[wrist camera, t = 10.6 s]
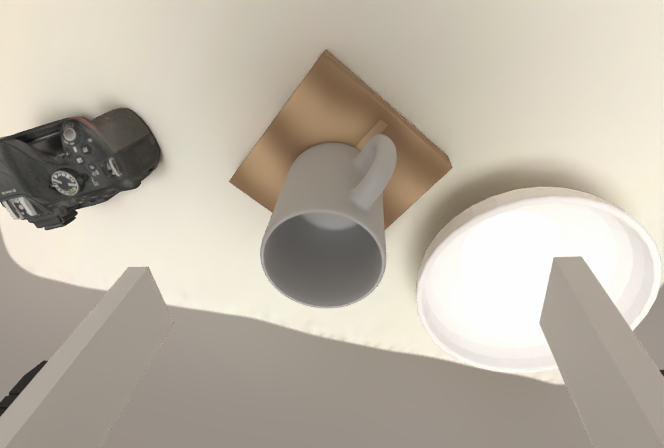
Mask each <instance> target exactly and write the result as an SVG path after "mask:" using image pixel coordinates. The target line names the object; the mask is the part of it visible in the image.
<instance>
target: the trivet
mask: <svg viewBox="0 0 664 448" xmlns="http://www.w3.org/2000/svg"><path fill="white" fill-rule="evenodd" d="M378 134H382V135H385V136H387V137H388V138H390V139H391V140H392V142H393V143H394V145H395V147H396V155H397V159H396V166H395V169H394V173H393V175H392V177H391V179H390V181H389V182H388V184H387V186H386V187H385V188H384V190H383V213H384V228H385V229H386V228H388V227H389V226H390V225H391V224H392V223H393V222H394V221H395V220H396V219H397V218H398V217H399V216H401V215H402V214H403V213H404V212H405V211H406V210H407V209H408V208H409V207H410V206H411V205H412V204H414V203H415V202H416V201H417V200H418V199H419V198H420V197H421V196H422V195H423V194H424V193H425V192H427V191H428V190H429V189H430V188H431V187H432V186H433V185H434V184H435V183H436V182H437V181H438V180H440V179H441V178H442V177H443V176H444V175H445V174H446V173H447V172H448V171H449V170H450V169H451V168H452V165H451V163H450V160H449V158H448V156H447V155H446V154H445V153H443V152H442V151H441V150H440V149H439V148H438V147H437V146H435V145H434V144H433V143H432V142H431V141H430V140H429V139H427V138H426V137H425V136H424V135H423V134H422V133H421V132H419V131H418V130H417V129H416V128H415V127H414V126H413V125H411V124H410V123H409V122H408V121H407V120H406V119H405V118H404V117H402V116H401V115H400V114H399V113H398V112H397V111H396V110H394V109H393V108H392V107H391V106H390V105H389V104H388V103H386V102H385V101H384V100H383V99H382V98H381V97H380V96H378V95H377V94H376V93H375V92H374V91H373V90H372V89H370V88H369V87H368V86H367V85H366V84H365V83H364V82H362V81H361V80H360V79H359V78H358V77H357V76H356V75H354V74H353V73H352V72H351V71H350V70H349V69H348V68H346V67H345V66H344V65H343V64H342V63H341V62H340V61H338V60H337V59H336V58H335V57H334V56H333V55H332V54H330V53H329V52H328V51H327V50H325V51H324V52H323V54H322V55H321V56H320V58H319V59H318V60H317V62H316V63H315V64H314V66H313V67H312V69H311V70H310V71H309V73H308V74H307V75H306V77H305V78H304V79H303V81H302V82H301V84H300V85H299V86H298V88H297V89H296V90H295V92H294V93H293V95H292V96H291V97H290V99H289V100H288V101H287V103H286V104H285V105H284V107H283V108H282V110H281V111H280V112H279V114H278V115H277V116H276V118H275V119H274V121H273V122H272V123H271V125H270V126H269V127H268V129H267V130H266V131H265V133H264V134H263V136H262V137H261V138H260V140H259V141H258V142H257V144H256V145H255V147H254V148H253V149H252V151H251V152H250V153H249V155H248V156H247V157H246V159H245V160H244V162H243V163H242V164H241V166H240V167H239V168H238V170H237V171H236V173H235V174H234V175H233V177H232V178H231V179H230V181H229V182H230V183H231V184H233V185H234V186H236V187H237V188H239V189H240V190H241V191H243V192H244V193H246V194H247V195H248V196H250V197H251V198H253V199H254V200H255V201H257V202H258V203H260V204H261V205H262V206H264V207H265V208H267V209H268V210H270V211H271V212H272V213H273V211H274V208H275V206H276V203H277V201H278V198H279V195H280V193H281V190H282V188H283V185H284V182H285V179H286V176H287V173H288V171H289V169H290V167H291V165H292V163H293V162H294V161H295V159H296V158H297V157H298V156H299V155H300V154H301V153H303V152H304V151H305V150H307V149H309V148H311V147H313V146H316V145H319V144H323V143H343V144H347V145H350V146H353V147H355V148H357V149H359V150H360V151H361V150H362V149H363V148H364V147H365V145H366V144H367V143H368V142H369V140H370V139H371V138H372V137H374V136H375V135H378Z"/></svg>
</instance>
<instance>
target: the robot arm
mask: <svg viewBox="0 0 664 448" xmlns="http://www.w3.org/2000/svg"><path fill="white" fill-rule="evenodd" d="M173 324H174V322H173V319H172V317H171V315H170V313H169V311H168V309H167V306H166V304H165V302H164V300H163V298H162V295H161V293H160V291H159V289H158V287H157V284H156V282H155V280H154V278H153V276H152V273H151V271H150V269H149V267H128V268H127V270H126V271H125V272H124V273H123V274H122V275H121V277H120V278H119V279H118V280H117V281H116V282H115V284H114V285H113V286H112V287H111V288H110V289H109V291H108V292H107V293H106V294H105V295H104V297H103V298H102V299H101V300H100V301H99V302H98V304H97V305H96V306H95V307H94V308H93V309H92V310H91V312H90V313H89V314H88V315H87V316H86V318H85V319H84V320H83V321H82V322H81V323H80V325H79V326H78V327H77V328H76V329H75V330H74V332H73V333H72V334H71V335H70V336H69V337H68V339H67V340H66V341H65V342H64V343H63V344H62V345H61V347H60V348H59V349H58V350H57V351H56V353H55V354H54V355H53V356H52V357H51V358H50V359H49V361H43V362H41V363H40V364H39V365H37V366H36V367H35V368H34V369H32V370H31V371H30V372H28V373H27V374H26V375H24V376H23V377H22V379H21V380H20V381H19V382H18V383H17V384H16V385H15V387H14V388H13V389H12V390H11V391H10V392H9V396H6V397H5V398H4V399H3V400H2V401H1V402H0V448H100V447H101V446H102V444H103V442H104V440H105V439H106V437H107V436H108V434H109V432H110V431H111V429H112V427H113V426H114V424H115V422H116V420H117V419H118V417H119V415H120V414H121V412H122V410H123V409H124V407H125V405H126V404H127V402H128V400H129V398H130V397H131V395H132V393H133V392H134V390H135V388H136V387H137V385H138V383H139V382H140V380H141V378H142V377H143V375H144V373H145V372H146V370H147V368H148V367H149V365H150V363H151V361H152V360H153V358H154V356H155V355H156V353H157V351H158V350H159V348H160V346H161V345H162V343H163V341H164V340H165V338H166V336H167V335H168V332H169V331H170V329H171V328H172V326H173ZM539 324H540V327H541V329H542V331H543V333H544V336H545V338H546V340H547V343H548V345H549V347H550V350H551V352H552V354H553V357H554V359H555V361H556V363H557V366H558V368H559V370H560V373H561V375H562V377H563V380H564V382H565V384H566V386H567V389H568V391H569V393H570V396H571V398H572V400H573V402H574V405H575V407H576V409H577V412H578V414H579V416H580V419H581V421H582V423H583V426H584V428H585V430H586V433H587V435H588V437H589V440H590V442H591V444H592V447H593V448H664V370H659V369H658V368H657V366H656V365H655V363H654V362H653V360H652V359H651V357H650V356H649V354H648V353H647V352H646V350H645V349H644V347H643V346H642V344H641V343H640V341H639V340H638V338H637V337H636V336H635V334H634V332H633V331H632V329H631V328H630V327H629V325H628V324H627V322H626V321H625V319H624V318H623V316H622V315H621V313H620V312H619V310H618V309H617V307H616V306H615V305H614V303H613V302H612V300H611V299H610V297H609V296H608V294H607V293H606V291H605V290H604V288H603V287H602V285H601V284H600V283H599V281H598V280H597V278H596V277H595V275H594V274H593V272H592V271H591V269H590V268H589V266H588V265H587V263H586V262H585V261H584V259H583V258H582V256H575V257H554V258H553V262H552V267H551V271H550V276H549V280H548V285H547V289H546V294H545V299H544V303H543V308H542V312H541V317H540V321H539Z"/></svg>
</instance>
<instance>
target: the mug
mask: <svg viewBox="0 0 664 448" xmlns="http://www.w3.org/2000/svg"><path fill="white" fill-rule="evenodd" d="M396 159H397V155H396V147H395V145H394V143H393V142H392V140H391V139H390V138H388V137H387V136H385V135H382V134H378V135H375V136H374V137H372V138H371V139H370V140H369V142H368V143H367V144H366V145H365V147H364V148H363V149H362V150H361V151H360V150H359V149H357V148H355V147H353V146H350V145H347V144H343V143H323V144H319V145H316V146H313V147H311V148H309V149H307V150H305V151H304V152H303V153H301V154H300V155H299V156H298V157H297V158H296V159H295V161H294V162H293V163H292V165H291V167H290V169H289V171H288V173H287V176H286V179H285V182H284V185H283V188H282V190H281V193H280V195H279V198H278V201H277V203H276V206H275V208H274V211H273V213H272V216H271V219H270V221H269V224H268V226H267V229H266V231H265V234H264V237H263V240H262V244H261V250H260V257H261V264H262V267H263V270H264V272H265V275H266V276H267V278H268V279H269V281H270V282H271V283H272V285H273V286H274V287H275V288H276V289H277V290H278V291H279V292H281V293H282V294H283V295H285V296H286V297H288V298H290V299H291V300H293V301H296V302H298V303H301V304H303V305H307V306H311V307H317V308H338V307H343V306H347V305H351V304H353V303H356V302H358V301H360V300H362V299H363V298H365V297H366V296H368V295H369V294H370V293H371V292H372V291H373V290H374V289H375V288H376V287H377V286H378V284H379V283H380V281H381V279H382V277H383V274H384V271H385V267H386V243H385V228H384V213H383V190H384V188H385V187H386V186H387V184H388V182H389V181H390V179H391V177H392V175H393V173H394V169H395V166H396Z"/></svg>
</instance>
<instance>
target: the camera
mask: <svg viewBox="0 0 664 448" xmlns="http://www.w3.org/2000/svg"><path fill="white" fill-rule="evenodd" d="M159 155H160V153H159V147H158V145H157V143H156V141H155V139H154V137H153V135H152V133H151V132H150V130H149V128H148V127H147V125H146V124H145V123H144V122H143V121H142V120H141V118H139V117H138V116H137V115H136V114H135V113H134V112H132V111H131V110H129V109H122V108H119V109H115V110H112V111H109V112H107V113H104V114H103V115H101V116H99V117H96V118H95V119H94V120H92V121H91V122H90V121H88V120H86V119H84V118H82V117H72V118H66V119H62V120H59V121H55V122H52V123H48V124H45V125H42V126H39V127H35V128H32V129H29V130H26V131H23V132H20V133H17V134H14V135H11V136H7V137H1V138H0V202H1V204H2V206H4V207H5V208H6V209H7V210H8V212H9V213H10V215H11V216H12V217H13V219H21V220H25V219H27V220H28V222H30V223H34V224H35V226H36V227H37V228H43V227H45V230H50V229H54V228H58V227H63V226H66V225H67V224H69V223H70V222H72V221H73V220H74V219H76V217H75V216H76V215H77V213H78V212H76V211H75V210H76V209H80V208H84V207H88V206H93V205H96V204H99V203H102V202H105V201H107V200H109V199H110V198H112V197H113V196H115V195H116V194H118V193H119V192H121V191H127V190H132V189H135V188H137V187H139V185H140V184H141V181H142V180H143V179H145V178H146V177H147V176H148V175H149V174H150V173H151V172H152V171H153V170H154V169H155V168H156V167H157V165H158V162H159Z"/></svg>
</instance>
